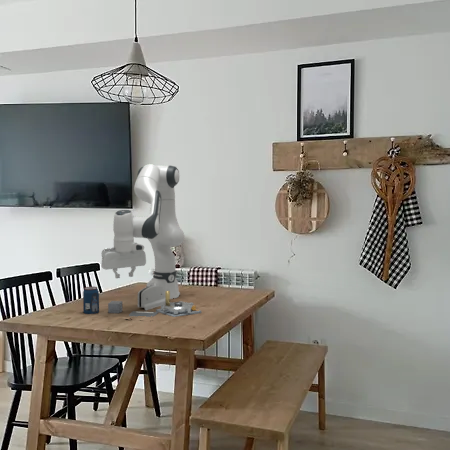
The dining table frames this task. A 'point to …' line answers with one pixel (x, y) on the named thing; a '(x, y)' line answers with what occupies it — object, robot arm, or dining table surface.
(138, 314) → the pad
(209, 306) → the dining table surface
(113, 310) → the link block
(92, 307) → the soda can
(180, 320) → the dining table surface
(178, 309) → the sprocket
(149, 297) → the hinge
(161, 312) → the sprocket base
